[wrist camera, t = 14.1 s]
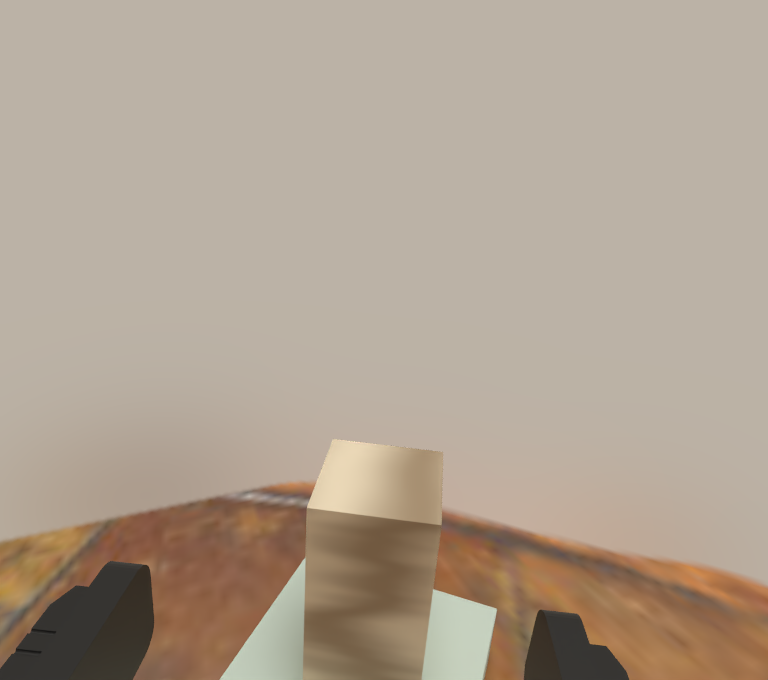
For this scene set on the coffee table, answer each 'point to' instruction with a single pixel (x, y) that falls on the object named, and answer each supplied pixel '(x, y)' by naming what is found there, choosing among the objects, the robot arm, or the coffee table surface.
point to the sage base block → (442, 654)
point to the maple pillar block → (371, 562)
